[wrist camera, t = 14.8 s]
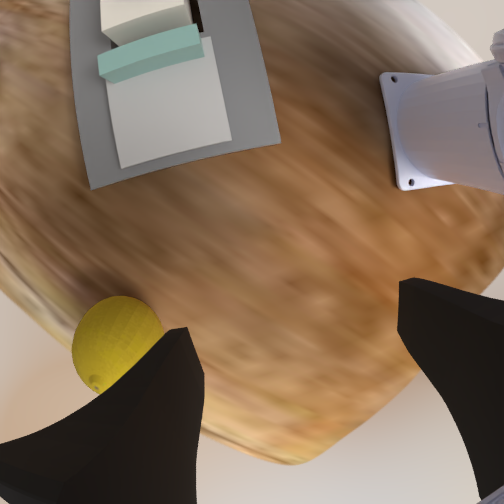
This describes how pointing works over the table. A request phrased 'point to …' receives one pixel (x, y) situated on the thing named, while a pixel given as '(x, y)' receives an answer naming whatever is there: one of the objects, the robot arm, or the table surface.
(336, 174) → the table surface
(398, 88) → the robot arm
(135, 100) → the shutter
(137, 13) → the plug
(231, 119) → the socket plate
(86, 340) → the lemon
